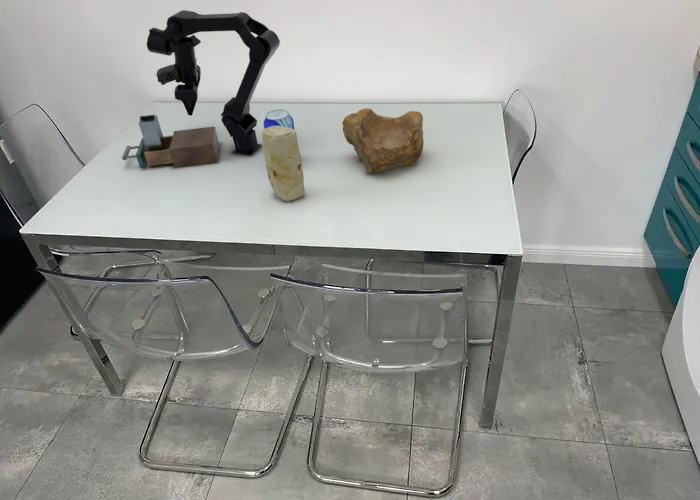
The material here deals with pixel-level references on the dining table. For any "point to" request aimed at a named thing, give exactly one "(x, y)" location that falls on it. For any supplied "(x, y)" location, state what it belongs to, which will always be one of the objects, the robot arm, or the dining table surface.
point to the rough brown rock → (384, 138)
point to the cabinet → (194, 147)
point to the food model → (283, 162)
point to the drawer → (150, 154)
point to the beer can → (278, 119)
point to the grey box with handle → (152, 133)
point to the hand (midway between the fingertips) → (191, 108)
